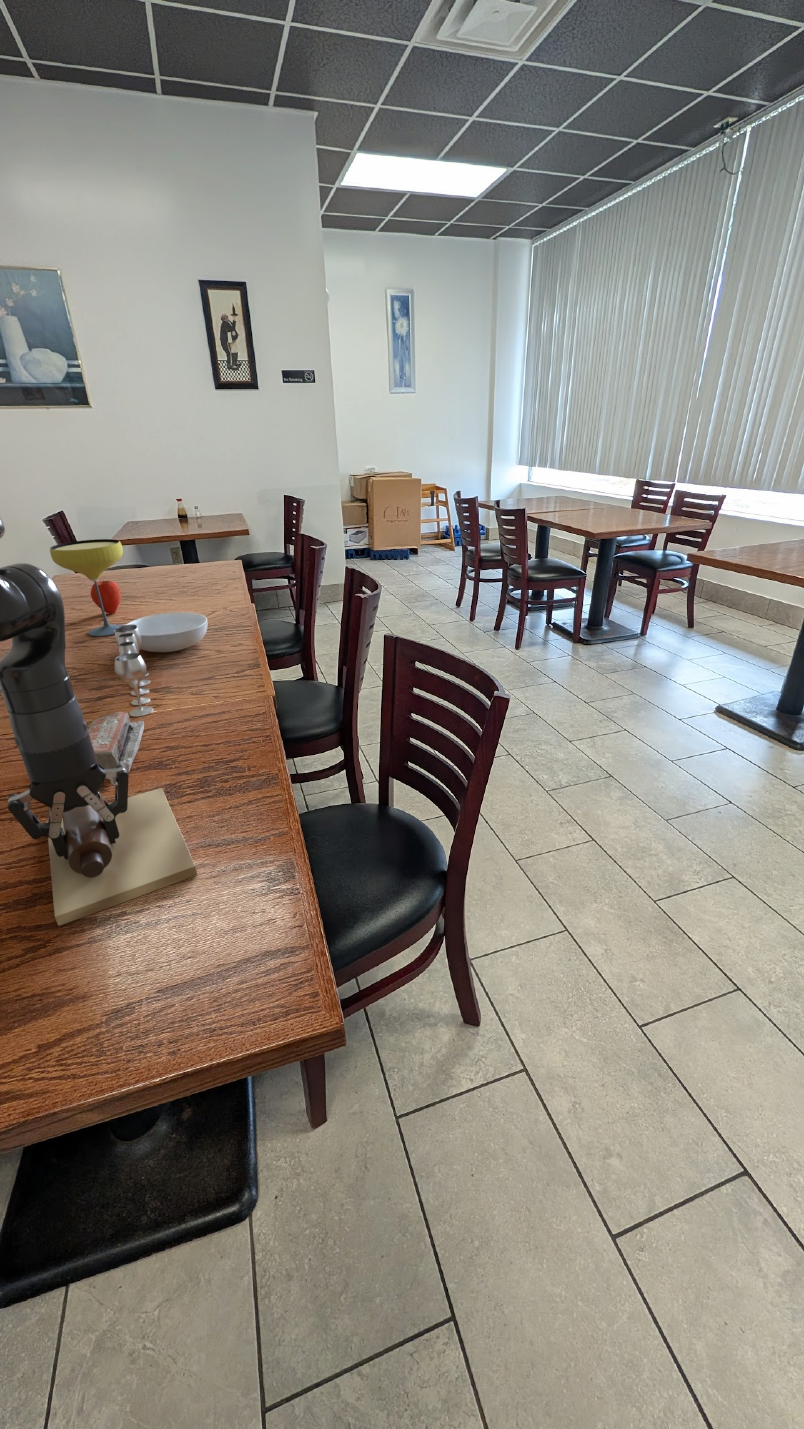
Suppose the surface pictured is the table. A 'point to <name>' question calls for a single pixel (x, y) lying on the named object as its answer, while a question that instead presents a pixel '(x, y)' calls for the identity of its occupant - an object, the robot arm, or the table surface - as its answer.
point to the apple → (107, 595)
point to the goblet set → (132, 666)
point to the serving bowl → (170, 631)
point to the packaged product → (115, 739)
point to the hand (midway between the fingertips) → (90, 847)
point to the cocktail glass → (90, 566)
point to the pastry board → (125, 861)
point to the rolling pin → (86, 841)
